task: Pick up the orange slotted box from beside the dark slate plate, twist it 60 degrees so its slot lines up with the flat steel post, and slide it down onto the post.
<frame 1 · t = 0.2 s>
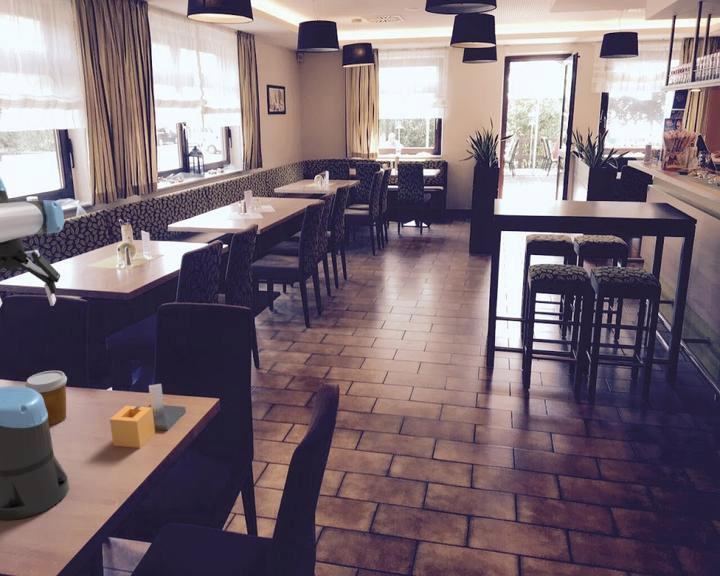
hand: (26, 304, 161), 28 cm above the table, tool tilted 20°, fingers open, 13 cm apart
brown jar with lid: (53, 420, 157), on the table
orange slotted box: (134, 439, 146), on the table
post plate: (159, 419, 156), on the table
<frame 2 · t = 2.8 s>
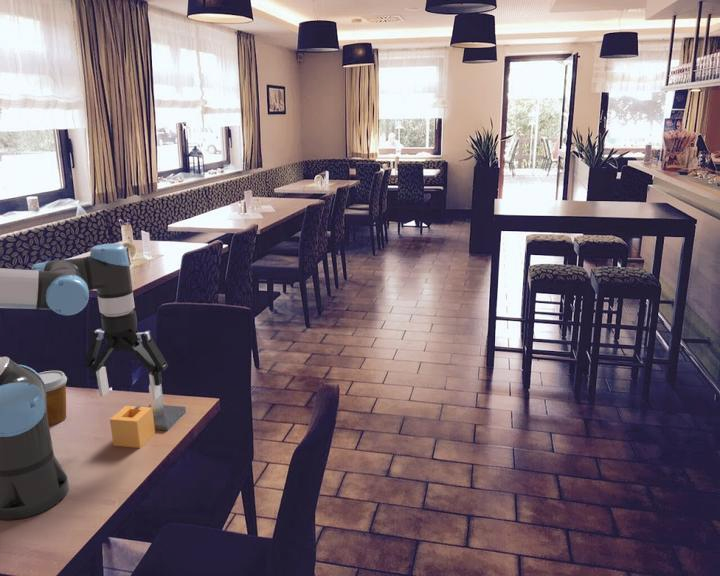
hand: (130, 395, 143), 12 cm above the table, tool pointing down, fingers open, 13 cm apart
nothing on the table moved.
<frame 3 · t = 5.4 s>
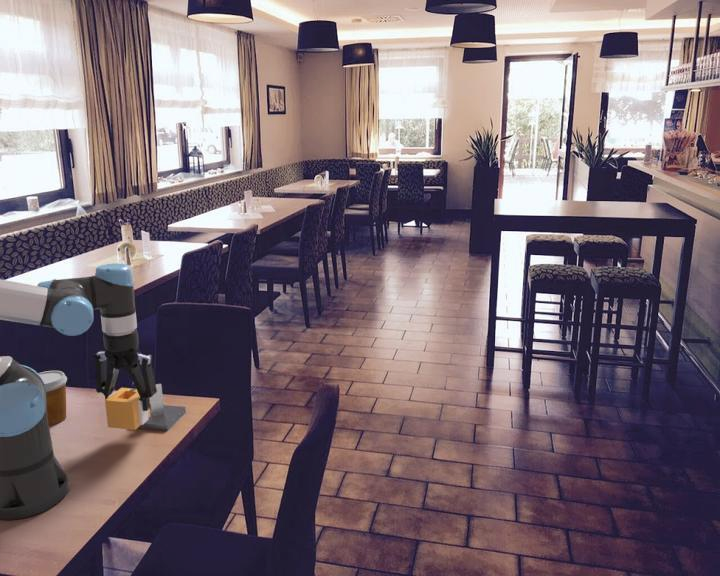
hand: (129, 420, 145), 5 cm above the table, tool pointing down, fingers closed on orange slotted box, 7 cm apart
orange slotted box: (129, 421, 145), point 5 cm above the table, touching gripper
everything else where it was.
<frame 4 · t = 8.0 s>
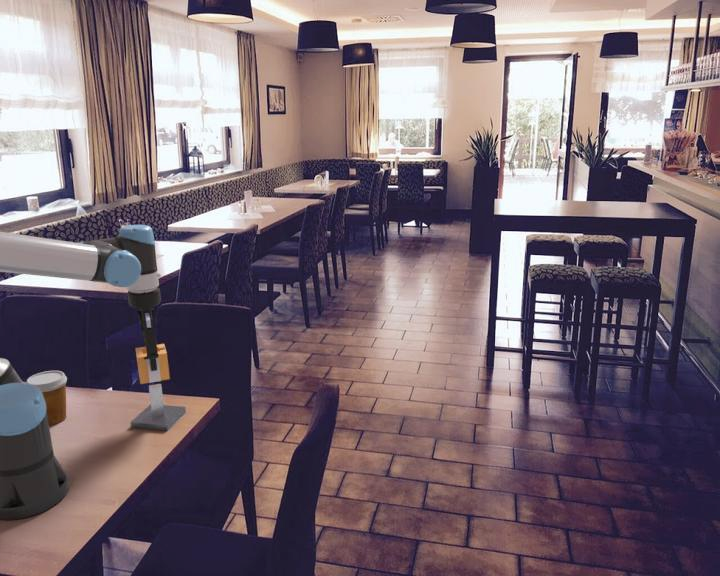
hand: (154, 375, 152), 12 cm above the table, tool pointing down, fingers closed on orange slotted box, 7 cm apart
orange slotted box: (154, 376, 152), point 12 cm above the table, touching gripper
everything else where it was.
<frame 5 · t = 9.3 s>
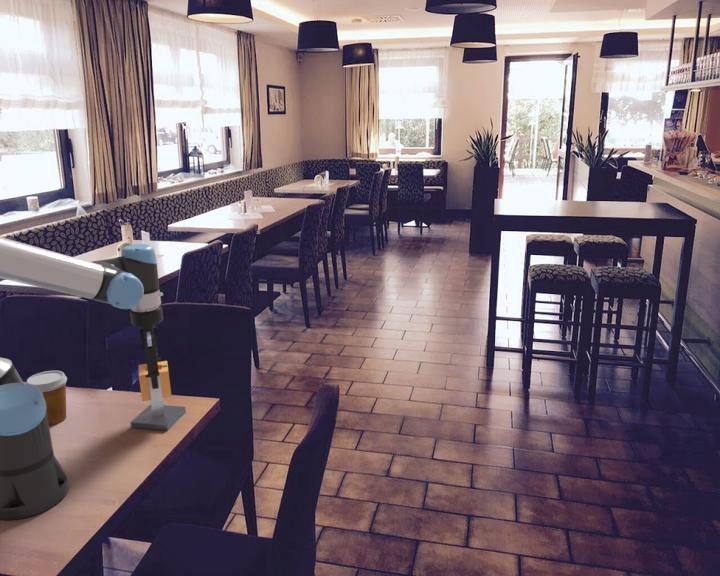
hand: (156, 392, 154), 8 cm above the table, tool pointing down, fingers closed on orange slotted box, 7 cm apart
orange slotted box: (156, 393, 154), point 7 cm above the table, touching gripper
everything else where it was.
when the fingers open (4 cm above the table, at t = 10.6 s): orange slotted box drops 2 cm, resting on post plate.
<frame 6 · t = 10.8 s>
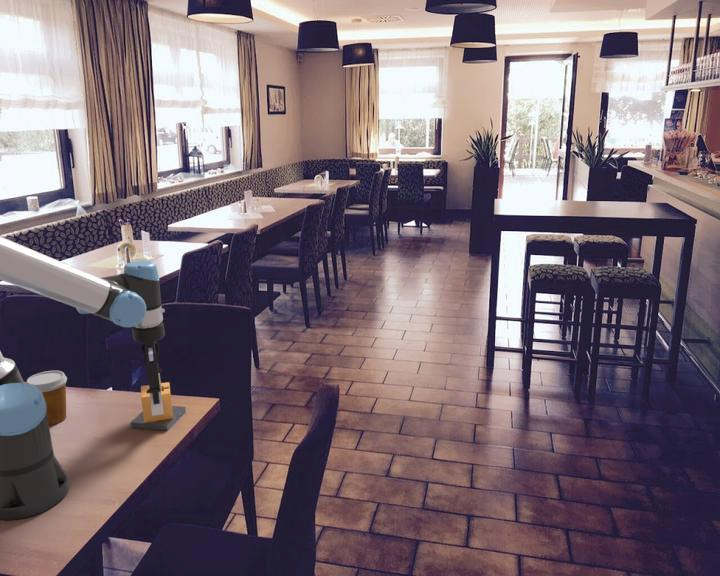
hand: (157, 405, 154), 4 cm above the table, tool pointing down, fingers open, 9 cm apart
orange slotted box: (158, 414, 155), point 1 cm above the table, touching post plate
everything else where it was.
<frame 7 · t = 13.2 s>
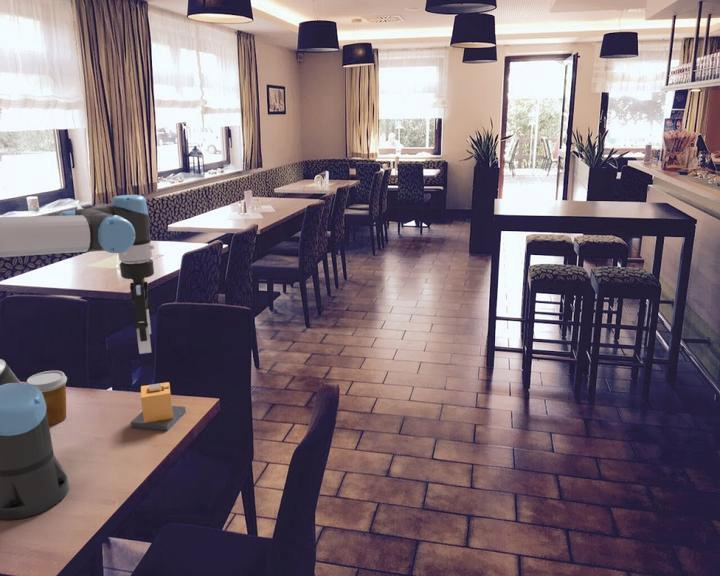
hand: (145, 343, 150), 21 cm above the table, tool pointing down, fingers open, 13 cm apart
nothing on the table moved.
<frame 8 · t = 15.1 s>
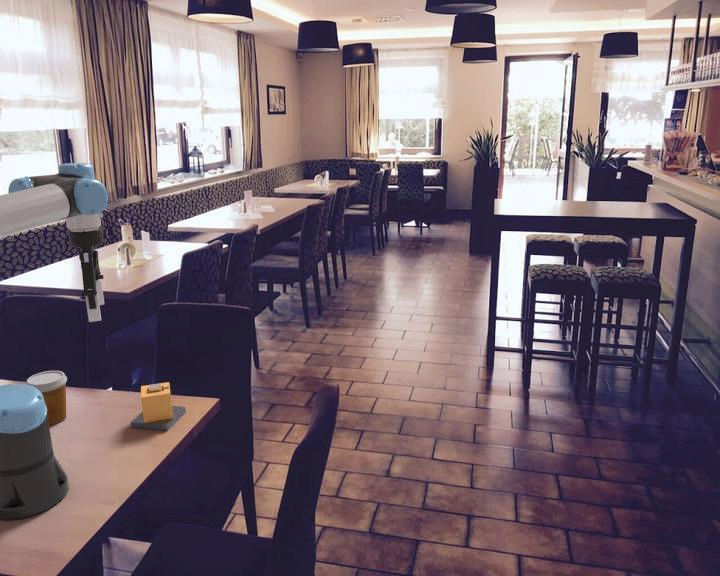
hand: (97, 312, 150), 29 cm above the table, tool pointing down, fingers open, 13 cm apart
nothing on the table moved.
at the end: orange slotted box 0.1 cm off-centre on the post plate, point 1.5 cm above the post plate's base; orange slotted box tilted 0°; the gripper is holding nothing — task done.
